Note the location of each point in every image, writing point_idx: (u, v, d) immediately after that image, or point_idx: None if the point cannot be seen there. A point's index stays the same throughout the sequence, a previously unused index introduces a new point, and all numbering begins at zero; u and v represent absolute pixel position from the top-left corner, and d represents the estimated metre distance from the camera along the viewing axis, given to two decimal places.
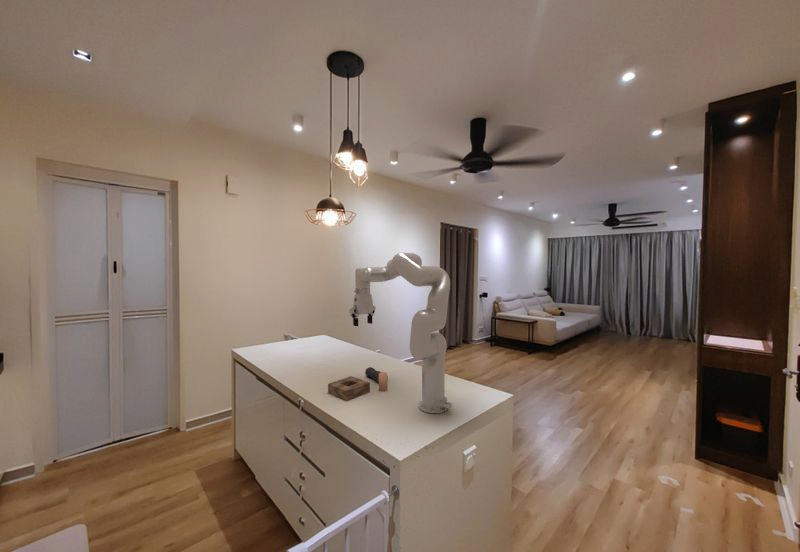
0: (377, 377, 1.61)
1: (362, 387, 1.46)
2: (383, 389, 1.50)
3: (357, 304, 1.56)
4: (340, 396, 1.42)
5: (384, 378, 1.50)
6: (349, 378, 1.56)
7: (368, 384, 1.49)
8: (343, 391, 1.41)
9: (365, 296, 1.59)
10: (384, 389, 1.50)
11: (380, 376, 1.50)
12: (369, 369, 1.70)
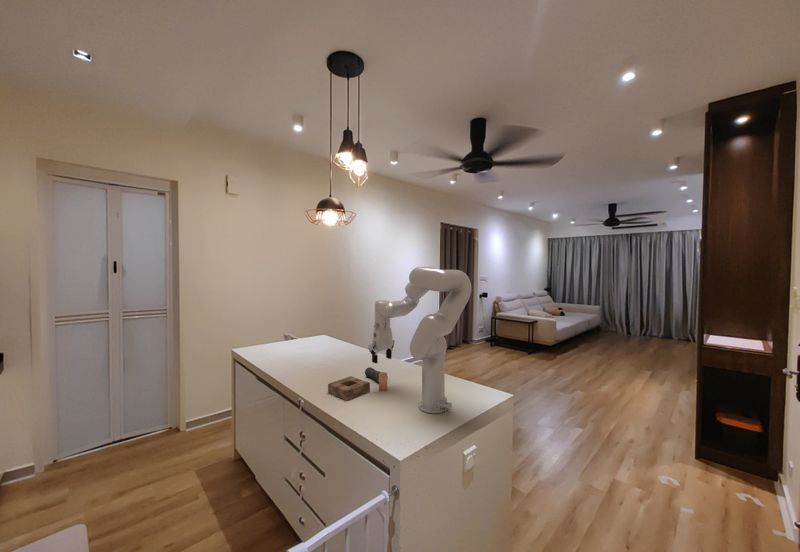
0: (377, 377, 1.60)
1: (362, 387, 1.46)
2: (383, 389, 1.50)
3: (377, 340, 1.47)
4: (340, 396, 1.42)
5: (384, 378, 1.50)
6: (349, 378, 1.56)
7: (368, 384, 1.49)
8: (343, 391, 1.41)
9: (385, 331, 1.50)
10: (384, 389, 1.50)
11: (380, 376, 1.50)
12: (369, 369, 1.70)
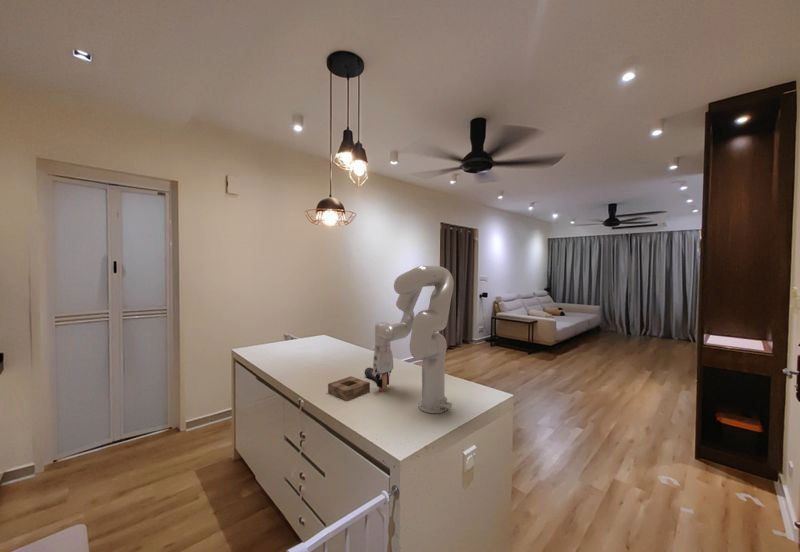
0: None
1: (362, 387, 1.46)
2: (383, 389, 1.50)
3: (377, 363, 1.47)
4: (340, 396, 1.42)
5: (384, 378, 1.50)
6: (349, 378, 1.56)
7: (368, 384, 1.49)
8: (343, 391, 1.41)
9: (385, 354, 1.50)
10: (384, 389, 1.50)
11: None
12: (368, 369, 1.69)
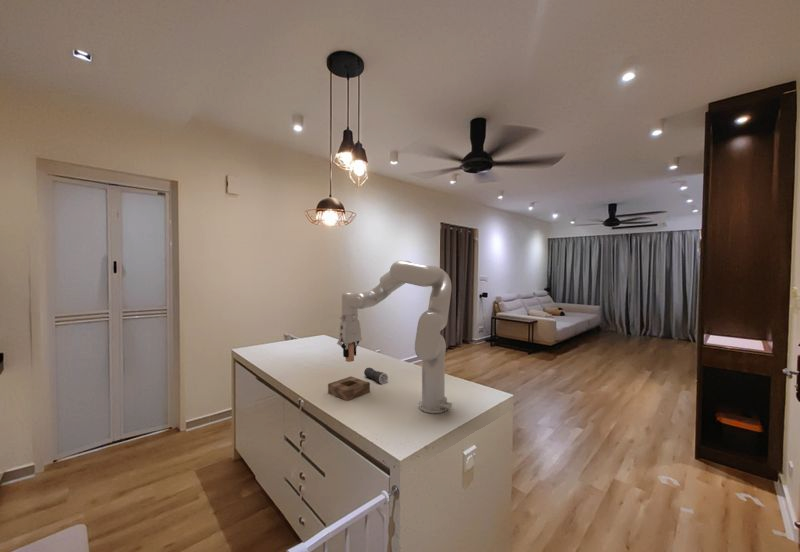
0: (377, 377, 1.60)
1: (362, 387, 1.46)
2: (349, 359, 1.47)
3: (343, 332, 1.44)
4: (340, 396, 1.42)
5: (350, 348, 1.47)
6: (349, 378, 1.56)
7: (368, 384, 1.49)
8: (343, 391, 1.41)
9: (352, 323, 1.46)
10: (350, 359, 1.47)
11: None
12: (368, 369, 1.69)
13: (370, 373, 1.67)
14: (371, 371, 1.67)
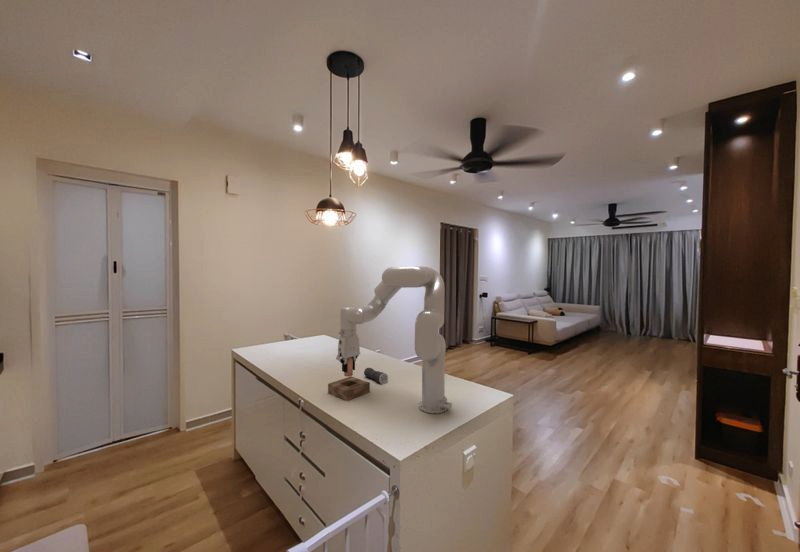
0: (378, 377, 1.60)
1: (362, 387, 1.46)
2: (348, 374, 1.47)
3: (342, 347, 1.44)
4: (340, 396, 1.42)
5: (349, 363, 1.47)
6: (349, 378, 1.56)
7: (368, 384, 1.49)
8: (343, 391, 1.41)
9: (351, 338, 1.46)
10: (349, 374, 1.47)
11: None
12: (368, 369, 1.69)
13: (370, 373, 1.67)
14: (371, 371, 1.67)
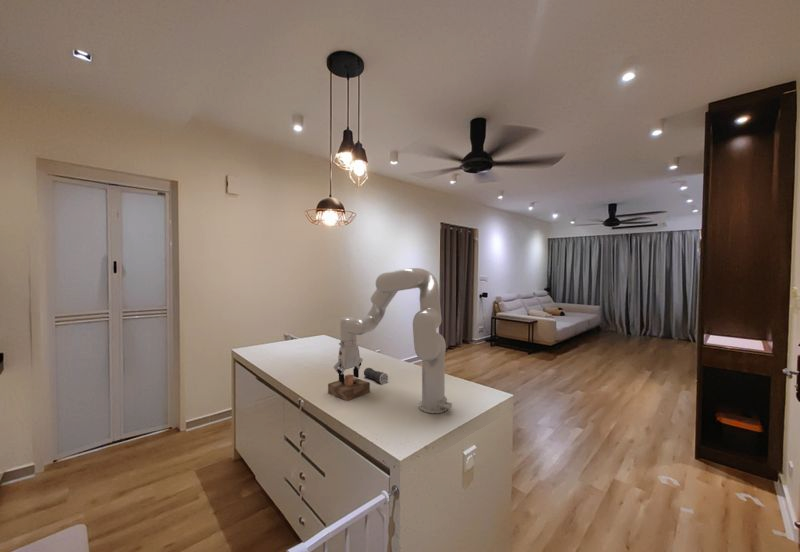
0: (378, 377, 1.60)
1: (362, 387, 1.46)
2: None
3: (342, 358, 1.44)
4: (340, 396, 1.42)
5: (350, 380, 1.47)
6: None
7: (368, 384, 1.49)
8: (343, 391, 1.41)
9: (351, 349, 1.46)
10: None
11: (346, 378, 1.47)
12: (368, 370, 1.69)
13: (370, 373, 1.66)
14: (371, 371, 1.67)
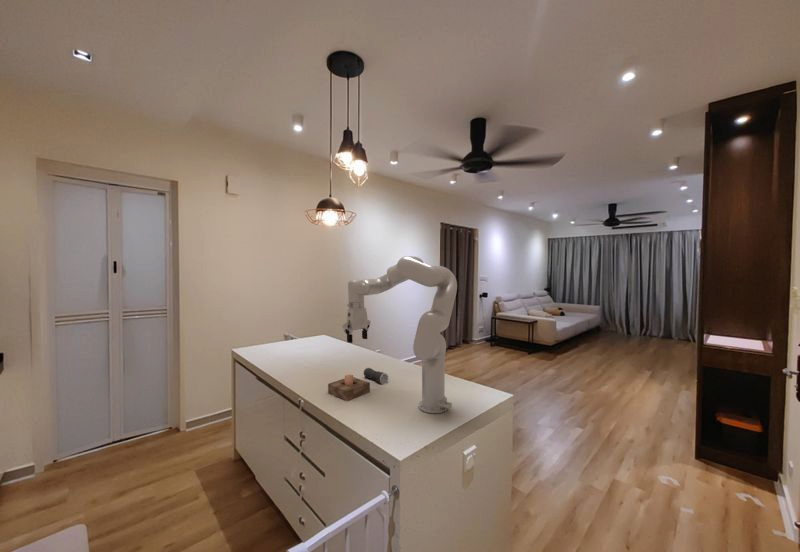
0: (378, 377, 1.60)
1: (362, 387, 1.46)
2: None
3: (351, 319, 1.46)
4: (340, 396, 1.42)
5: (350, 381, 1.47)
6: None
7: (368, 384, 1.49)
8: (343, 391, 1.41)
9: (359, 310, 1.49)
10: None
11: (345, 378, 1.47)
12: (368, 370, 1.69)
13: (370, 373, 1.66)
14: (371, 371, 1.67)
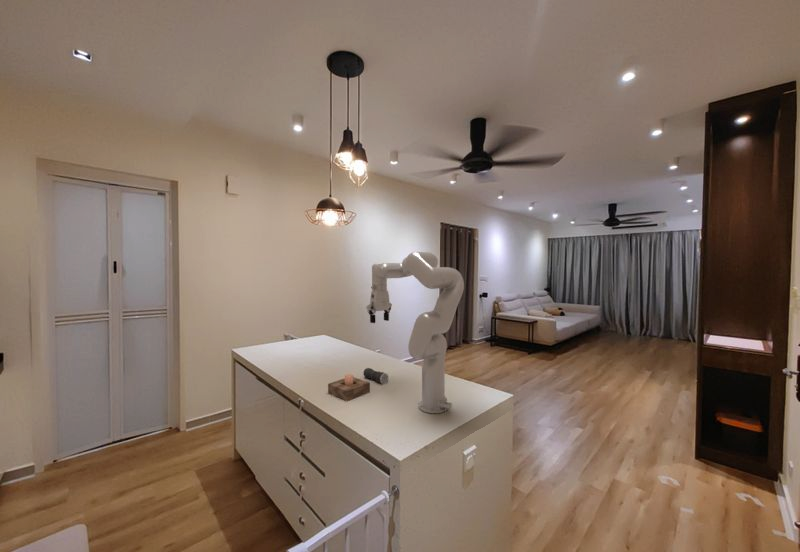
0: (378, 377, 1.60)
1: (362, 387, 1.46)
2: None
3: (374, 301, 1.54)
4: (340, 396, 1.42)
5: (350, 380, 1.47)
6: None
7: (368, 384, 1.49)
8: (343, 391, 1.41)
9: (382, 292, 1.56)
10: None
11: (346, 378, 1.47)
12: (368, 370, 1.69)
13: (370, 373, 1.66)
14: (371, 371, 1.67)
